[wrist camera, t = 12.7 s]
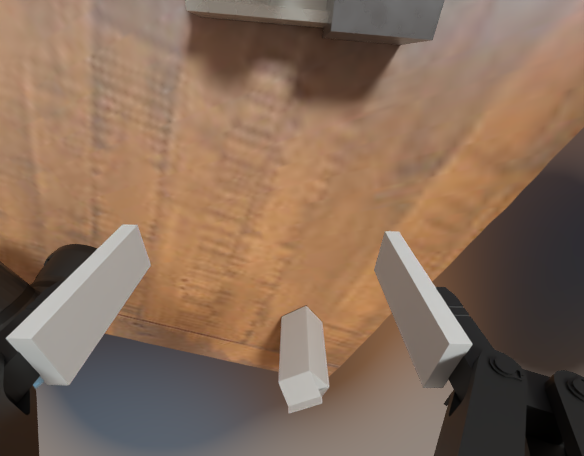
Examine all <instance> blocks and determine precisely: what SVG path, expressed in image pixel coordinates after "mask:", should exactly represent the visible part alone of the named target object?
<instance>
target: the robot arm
mask: <svg viewBox="0 0 584 456" xmlns="http://www.w3.org/2000/svg"><path fill="white" fill-rule="evenodd" d="M150 266H151V264H150V261H149V258H148V255H147V252H146V249H145V246H144V243H143V240H142V237H141V234H140V231H139V228H138V225H122V226H121V227H120V228H119V229H118V230H116V231H115V232H114V233H113V234H112V235H111V236H110V237H109V238H108V239H107V240H106V241H105V242H104V243H103V244H102V245H101V246H100V247H99V248H98V249H97V248H94V247H91V246H87V245H80V244H70V245H65V246H62V247H60V248H58V249H57V250H56V251H54V252H53V253H52V254H51V255H50V256H49V257H48V258H47V259H46V261H45V263H44V267H43V268H42V269H41V271H40V272H39V274H38V275H37V277H36V279H35V280H34V282H33V283H32V284H31V285H29V284H28V283H27V282H25V281H24V280H23V279H22V278H20V277H19V276H18V275H17V274H15V273H14V272H13V271H12V270H10V269H9V268H8V267H7V266H5V265H4V264H3V263H2V262H0V456H39V442H38V420H37V398H36V390H35V389H36V388H38V387H39V386H40V385H41V384H42V383H43V382H44V381H45V382H46V383H47V385H69V384H70V383H71V382H72V380H73V379H74V377H75V376H76V374H77V373H78V371H79V370H80V368H81V367H82V366H83V364H84V363H85V361H86V360H87V358H88V356H89V355H90V354H91V352H92V350H93V349H94V348H95V346H96V345H97V343H98V342H99V341H100V339H101V338H102V336H103V335H104V333H105V332H106V330H107V329H108V327H109V326H110V324H111V323H112V322H113V320H114V319H115V317H116V316H117V314H118V313H119V311H120V310H121V308H122V307H123V305H124V304H125V302H126V301H127V300H128V298H129V297H130V295H131V294H132V292H133V291H134V289H135V288H136V286H137V285H138V283H139V282H140V280H141V279H142V278H143V276H144V275H145V273H146V272H147V270H148V269H149V267H150ZM374 271H375V273H376V275H377V278H378V280H379V283H380V285H381V287H382V290H383V292H384V295H385V297H386V300H387V302H388V304H389V307H390V309H391V312H392V314H393V316H394V319H395V321H396V324H397V326H398V328H399V331H400V333H401V335H402V338H403V340H404V343H405V345H406V348H407V350H408V352H409V355H410V357H411V360H412V362H413V365H414V367H415V369H416V372H417V374H418V376H419V379H420V381H421V384H422V386H423V388H443V387H444V385H445V384H446V382H447V381H448V380H449V381H450V383H451V385H452V387H453V388H454V390H453V392H452V393H451V394H450V396H449V397H448V398H447V400H446V401H445V403H444V404H445V405H446V406H447V405H448V407H447V410H446V414H445V418H444V421H443V425H442V428H441V432H440V436H439V439H438V443H437V446H436V450H435V454H434V456H584V377H582V376H580V375H578V374H576V373H573V372H569V371H565V370H561V371H557V372H555V374H553V375H552V376H551V377H548V376H544V375H541V374H538V373H534V372H531V371H528V370H524V369H522V368H521V366H520V365H519V364H517V363H516V362H515V361H514V360H513V359H512V358H510V357H509V356H507V355H505V354H504V353H501V352H499V351H496V350H494V348H493V347H492V346H491V345H490V343H489V342H488V340H487V339H486V337H485V336H484V335H483V333H482V332H481V330H480V329H479V328H478V326H477V325H476V323H475V322H474V321H473V319H472V318H471V317H469V314H468V312H467V311H466V310H465V308H463V305H462V304H461V303H460V301H459V300H458V298H457V297H456V296H455V295H454V294H453V293H451V292H450V291H449V290H448V289H447V288H445V287H435V286H434V284H433V283H432V281H431V280H430V278H429V277H428V275H427V274H426V272H425V271H424V269H423V268H422V266H421V265H420V263H419V262H418V260H417V259H416V257H415V255H414V254H413V252H412V251H411V249H410V248H409V246H408V245H407V243H406V242H405V240H404V239H403V237H402V236H401V234H400V233H399V232H391V231H385V233H384V236H383V240H382V244H381V247H380V251H379V255H378V258H377V262H376V265H375V269H374Z"/></svg>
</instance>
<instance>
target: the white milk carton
mask: <svg viewBox="0 0 584 456" xmlns="http://www.w3.org/2000/svg"><path fill="white" fill-rule="evenodd" d="M278 383H279V385H280V387H281V390H282V392H283V395H284V397H285V399H286V402H287V404H288V412H289V413H292V412H296V411H299V410H302V409H306V408H309V407H312V406H315V405H318V404H322V396H323V394H324V393H325V392H326V391H327V390H328V388H329V379H328V370H327V361H326V352H325V343H324V334H323V325H322V321H321V320H320V319H319V318H318V317H317V316H316V315H315V314H314V313H313V312H312V311H311V310H310V309H309V308H308V307H307V306H304V307H302V308H300V309H298V310H296V311H293V312H291V313H289V314H287V315H284V316H282V318H281V339H280V360H279V382H278Z"/></svg>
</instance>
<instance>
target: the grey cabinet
mask: <svg viewBox="0 0 584 456" xmlns="http://www.w3.org/2000/svg"><path fill="white" fill-rule="evenodd" d="M443 3H444V0H185V4H186V11H188V12H191V13H193V14H195V15H197V16H199V17H204V18H215V19H226V20H238V21H249V22H260V23H271V24H283V25H294V26H305V27H317V28H323V35H322V38H327V39H338V40H350V41H361V42H373V43H384V44H396V45H403V44H410V43H417V42H423V41H430V40H433V37H434V34H435V30H436V27H437V24H438V20H439V17H440V13H441V10H442V7H443Z"/></svg>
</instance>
